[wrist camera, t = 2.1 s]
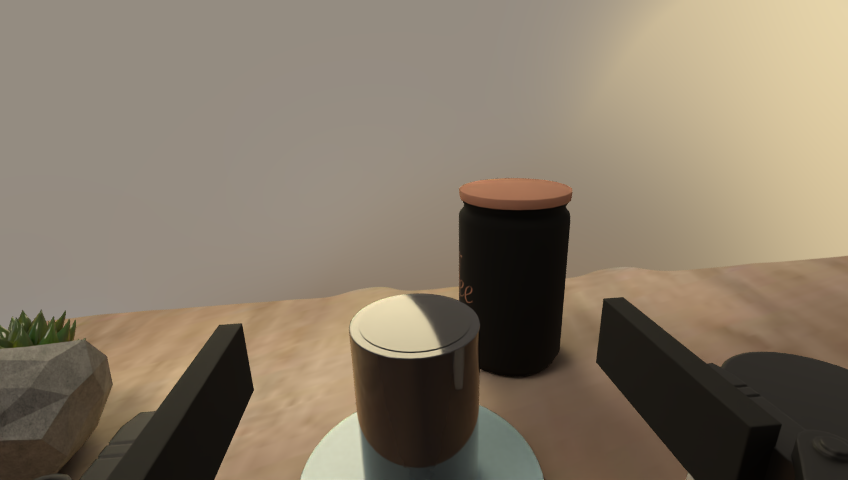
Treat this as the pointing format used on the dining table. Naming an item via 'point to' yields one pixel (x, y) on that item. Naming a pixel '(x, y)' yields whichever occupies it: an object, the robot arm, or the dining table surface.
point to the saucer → (497, 459)
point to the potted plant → (47, 395)
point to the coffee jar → (515, 269)
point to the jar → (797, 388)
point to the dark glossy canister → (417, 388)
